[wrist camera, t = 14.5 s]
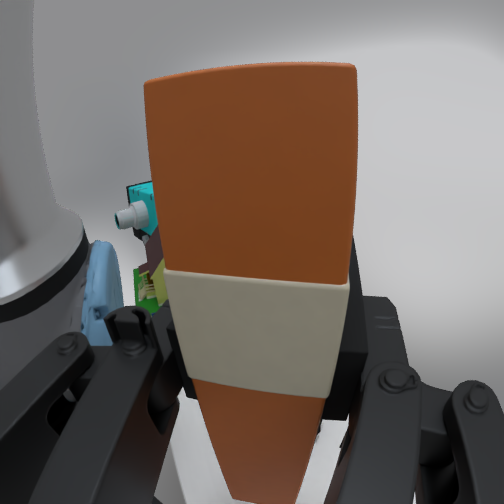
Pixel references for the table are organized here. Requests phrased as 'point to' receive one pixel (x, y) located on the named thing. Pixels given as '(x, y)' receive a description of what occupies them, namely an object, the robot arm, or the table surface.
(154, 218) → the electronic device
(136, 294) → the house model
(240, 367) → the block
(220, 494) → the table surface
